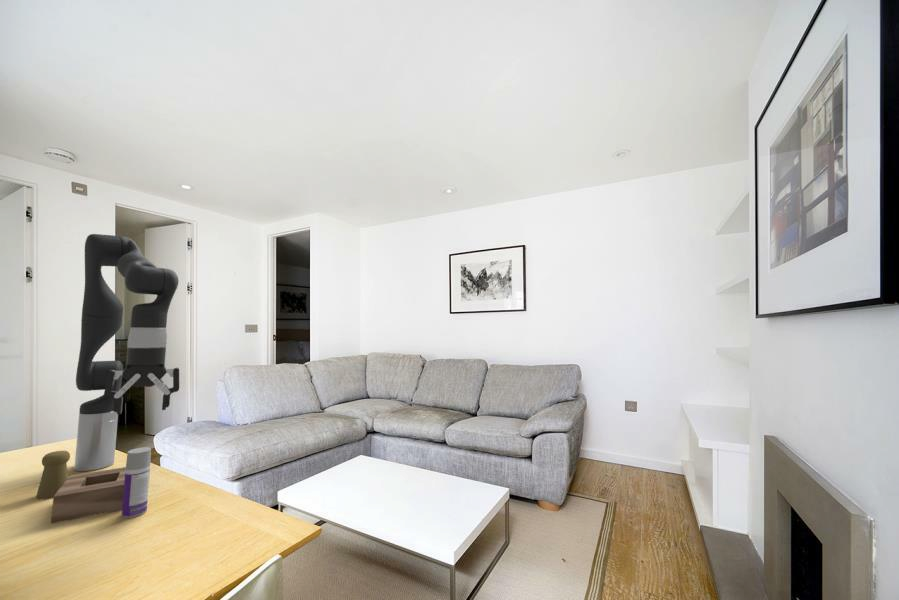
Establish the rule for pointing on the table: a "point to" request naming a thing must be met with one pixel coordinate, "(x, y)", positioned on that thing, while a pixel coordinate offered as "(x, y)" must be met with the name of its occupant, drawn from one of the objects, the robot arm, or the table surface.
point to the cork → (53, 474)
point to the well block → (89, 495)
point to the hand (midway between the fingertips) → (142, 411)
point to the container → (136, 482)
